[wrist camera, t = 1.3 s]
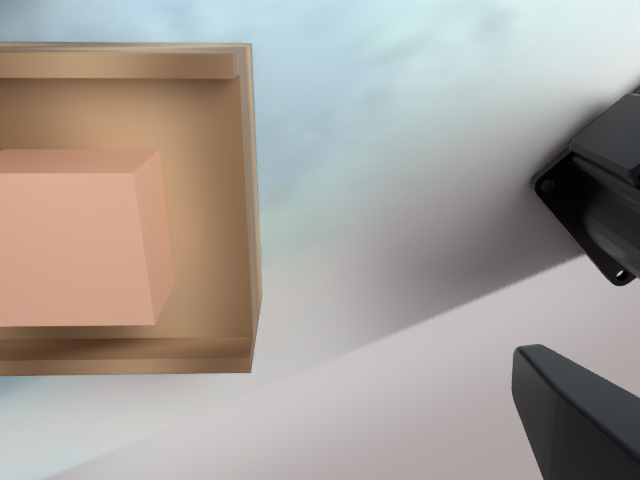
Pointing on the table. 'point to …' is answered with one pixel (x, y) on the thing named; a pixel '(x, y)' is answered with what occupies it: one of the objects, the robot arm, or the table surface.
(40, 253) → the tile
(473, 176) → the table surface
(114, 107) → the wooden box
